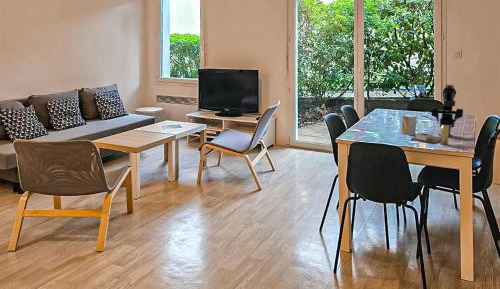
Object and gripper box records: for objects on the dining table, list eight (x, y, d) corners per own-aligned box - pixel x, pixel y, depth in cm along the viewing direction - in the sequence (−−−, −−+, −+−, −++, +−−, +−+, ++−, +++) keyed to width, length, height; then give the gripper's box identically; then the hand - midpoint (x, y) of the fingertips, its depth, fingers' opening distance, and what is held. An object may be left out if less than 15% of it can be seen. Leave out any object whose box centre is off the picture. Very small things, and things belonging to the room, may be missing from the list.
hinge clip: (421, 137, 303) (422, 132, 302) (432, 139, 297) (432, 134, 296) (415, 138, 298) (415, 134, 297) (426, 140, 292) (426, 136, 291)
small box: (401, 133, 324) (402, 115, 321) (409, 132, 325) (410, 114, 322) (407, 135, 316) (408, 116, 313) (415, 134, 317) (416, 116, 315)
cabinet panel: (424, 136, 310) (424, 135, 310) (446, 140, 298) (446, 138, 298) (410, 139, 301) (411, 138, 300) (433, 143, 288) (433, 141, 288)
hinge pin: (442, 143, 290) (443, 124, 287) (448, 144, 286) (450, 125, 284) (438, 144, 287) (440, 125, 285) (445, 145, 284) (446, 126, 281)
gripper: (432, 95, 295) (430, 114, 288) (464, 96, 287) (462, 116, 280) (432, 106, 304) (430, 124, 296) (463, 107, 296) (461, 126, 288)
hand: (445, 122), depth 290 cm, fingers open, 9 cm apart
